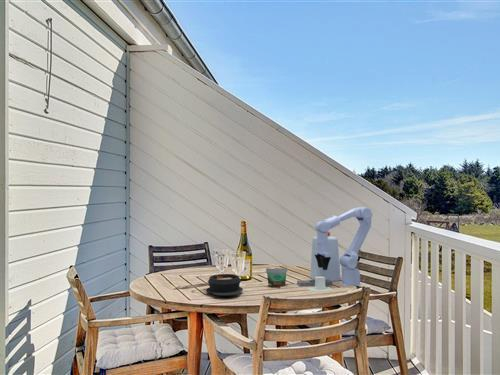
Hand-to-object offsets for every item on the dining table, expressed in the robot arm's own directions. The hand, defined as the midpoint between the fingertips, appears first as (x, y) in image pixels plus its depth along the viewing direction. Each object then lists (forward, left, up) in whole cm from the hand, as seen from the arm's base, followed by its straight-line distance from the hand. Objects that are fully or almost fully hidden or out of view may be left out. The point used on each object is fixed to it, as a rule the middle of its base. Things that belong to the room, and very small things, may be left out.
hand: (322, 268), depth 212 cm
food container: (+24, -3, -10) cm, 26 cm away
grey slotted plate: (+4, -2, -9) cm, 10 cm away
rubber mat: (+4, +8, -9) cm, 13 cm away
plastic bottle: (-7, -16, -10) cm, 20 cm away
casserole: (+54, +7, -10) cm, 55 cm away
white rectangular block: (+4, +8, -9) cm, 13 cm away
